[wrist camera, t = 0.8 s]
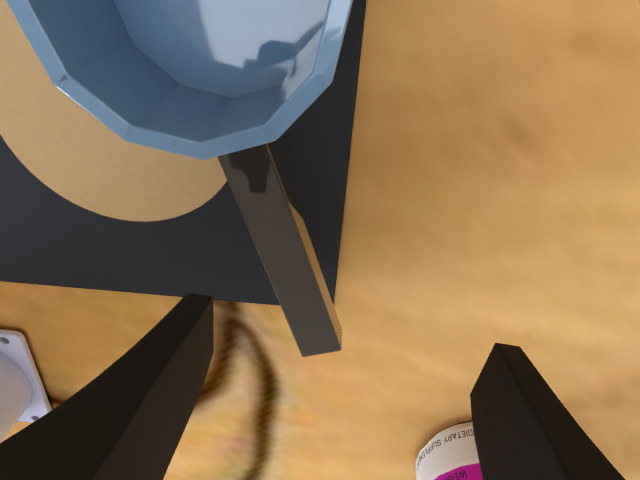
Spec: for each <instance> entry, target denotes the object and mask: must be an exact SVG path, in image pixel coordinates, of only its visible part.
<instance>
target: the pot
mask: <svg viewBox="0 0 640 480" xmlns="http://www.w3.org/2000/svg"><path fill="white" fill-rule="evenodd" d="M6 2H7V4H8V6H9V7H10V9H11V11H12V13H13V14H14V16H15V18H16V20H17V21H18V23H19V25H20V27H21V28H22V30H23V32H24V34H25V35H26V37H27V39H28V41H29V42H30V44H31V46H32V48H33V49H34V51H35V53H36V55H37V56H38V58H39V60H40V62H41V63H42V65H43V67H44V69H45V70H46V72H47V74H48V76H49V78H50V79H51V81H52V83H53V84H54V85H55V86H56V87H57V88H58V89H60V90H61V91H62V92H64V93H65V94H66V95H67V96H69V97H70V98H71V99H72V100H74V101H75V102H76V103H78V104H79V105H80V106H81V107H83V108H84V109H85V110H86V111H88V112H89V113H90V114H92V115H93V116H94V117H95V118H97V119H98V120H99V121H100V122H102V123H103V124H104V125H106V126H107V127H108V128H109V129H111V130H112V131H113V132H114V133H116V134H117V135H118V136H120V137H121V138H122V139H123V140H125V141H127V142H131V143H135V144H139V145H143V146H147V147H151V148H155V149H159V150H163V151H168V152H172V153H176V154H180V155H184V156H188V157H192V158H196V159H200V160H206V159H210V158H214V157H218V160H219V162H220V164H221V167H222V169H223V172H224V174H225V176H226V179H227V181H228V183H229V186H230V188H231V190H232V193H233V195H234V197H235V200H236V202H237V204H238V207H239V209H240V211H241V214H242V216H243V219H244V221H245V223H246V226H247V228H248V230H249V233H250V235H251V237H252V240H253V242H254V244H255V247H256V249H257V251H258V254H259V256H260V258H261V261H262V263H263V265H264V268H265V270H266V273H267V275H268V277H269V280H270V282H271V284H272V287H273V289H274V291H275V294H276V296H277V298H278V301H279V303H280V305H281V308H282V310H283V312H284V315H285V317H286V319H287V322H288V324H289V327H290V329H291V331H292V334H293V336H294V338H295V341H296V343H297V345H298V348H299V350H300V352H301V355H302V356H303V357H307V356H312V355H318V354H324V353H330V352H335V351H340V350H341V345H342V329H341V326H340V323H339V320H338V317H337V314H336V312H335V309H334V306H333V303H332V300H331V297H330V294H329V292H328V289H327V286H326V283H325V280H324V277H323V275H322V272H321V269H320V266H319V263H318V260H317V257H316V255H315V252H314V249H313V246H312V243H311V240H310V237H309V235H308V232H307V229H306V226H305V223H304V220H303V217H302V215H301V212H300V209H299V206H298V203H297V200H296V198H295V195H294V192H293V189H292V186H291V183H290V180H289V178H288V175H287V172H286V169H285V166H284V163H283V160H282V158H281V155H280V152H279V149H278V146H277V143H276V140H278V139H279V138H280V136H281V135H282V134H283V133H284V132H285V131H286V130H287V129H288V128H289V127H290V126H291V125H292V124H293V123H294V122H295V121H296V120H297V119H298V118H299V117H300V116H301V115H302V114H303V113H304V112H305V110H306V109H307V108H308V107H309V106H310V105H311V104H312V103H313V102H314V101H315V100H316V99H317V98H318V97H319V96H320V95H321V94H322V93H323V92H324V91H325V90H326V89H327V88H328V87H329V85H330V84H331V82H332V81H333V78H334V74H335V70H336V66H337V62H338V58H339V54H340V50H341V46H342V42H343V38H344V34H345V30H346V27H347V23H348V19H349V15H350V11H351V7H352V3H353V0H6Z"/></svg>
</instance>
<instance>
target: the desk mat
mask: <svg viewBox="0 0 640 480" xmlns="http://www.w3.org/2000/svg"><path fill="white" fill-rule="evenodd" d="M365 8H366V0H353V3H352V7H351V11H350V15H349V19H348V23H347V27H346V30H345V34H344V38H343V42H342V46H341V50H340V54H339V58H338V62H337V66H336V70H335V74H334V78H333V81H332V82H331V84H330V85H329V87H328V88H327V89H326V90H325V91H324V92H323V93H322V94H321V95H320V96H319V97H318V98H317V99H316V100H315V101H314V102H313V103H312V104H311V105H310V106H309V107H308V108H307V109H306V110H305V112H304V113H303V114H302V115H301V116H300V117H299V118H298V119H297V120H296V121H295V122H294V123H293V124H292V125H291V126H290V127H289V128H288V129H287V130H286V131H285V132H284V133H283V134H282V135H281V136H280V138H279V139H278V140H276V143H277V146H278V149H279V152H280V155H281V158H282V160H283V163H284V166H285V169H286V172H287V175H288V178H289V180H290V183H291V186H292V189H293V192H294V195H295V198H296V200H297V203H298V206H299V209H300V212H301V215H302V217H303V220H304V223H305V226H306V229H307V232H308V235H309V237H310V240H311V243H312V246H313V249H314V252H315V255H316V257H317V260H318V263H319V266H320V269H321V272H322V275H323V277H324V280H325V283H326V286H327V289H328V292H329V294H330V297H331V300H332V303H333V305H334V296H335V286H336V277H337V268H338V259H339V249H340V240H341V231H342V221H343V212H344V203H345V194H346V184H347V175H348V166H349V157H350V147H351V138H352V129H353V119H354V110H355V101H356V92H357V82H358V73H359V64H360V55H361V45H362V36H363V27H364V17H365ZM0 281H5V282H16V283H28V284H39V285H51V286H62V287H74V288H85V289H97V290H109V291H120V292H132V293H143V294H155V295H166V296H178V297H184V296H185V295H187V294H188V293H195V294H201V295H207V296H213V300H224V301H236V302H247V303H259V304H271V305H280V303H279V301H278V298H277V296H276V294H275V291H274V289H273V287H272V284H271V282H270V280H269V277H268V275H267V273H266V270H265V268H264V265H263V263H262V261H261V258H260V256H259V254H258V251H257V249H256V247H255V244H254V242H253V240H252V237H251V235H250V233H249V230H248V228H247V226H246V223H245V221H244V219H243V216H242V214H241V211H240V209H239V207H238V204H237V202H236V200H235V197H234V195H233V193H232V190H231V188H230V186H229V183H228V181H227V179H226V176H225V174H224V172H223V169H222V167H221V164H220V162H219V160H218V157H214V158H210V159H206V160H200V159H196V158H192V157H188V156H184V155H180V154H176V153H172V152H168V151H163V150H159V149H155V148H151V147H147V146H143V145H139V144H135V143H131V142H127V141H125V140H123V139H122V138H121V137H120V136H118V135H117V134H116V133H114V132H113V131H112V130H111V129H109V128H108V127H107V126H106V125H104V124H103V123H102V122H100V121H99V120H98V119H97V118H95V117H94V116H93V115H92V114H90V113H89V112H88V111H86V110H85V109H84V108H83V107H81V106H80V105H79V104H78V103H76V102H75V101H74V100H72V99H71V98H70V97H69V96H67V95H66V94H65V93H64V92H62V91H61V90H60V89H58V88H57V87H56V86H55V85H54V84H53V83H52V81H51V79H50V78H49V76H48V74H47V72H46V70H45V69H44V67H43V65H42V63H41V62H40V60H39V58H38V56H37V55H36V53H35V51H34V49H33V48H32V46H31V44H30V42H29V41H28V39H27V37H26V35H25V34H24V32H23V30H22V28H21V27H20V25H19V23H18V21H17V20H16V18H15V16H14V14H13V13H12V11H11V9H10V7H9V6H8V4H7V2H6V0H0Z"/></svg>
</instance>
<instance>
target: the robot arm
mask: <svg viewBox="0 0 640 480" xmlns="http://www.w3.org/2000/svg"><path fill="white" fill-rule="evenodd" d="M212 355H213V296H207V295H201V294H195V293H188V294H187V295H185V296H184V297H183V298H182V299H181V300H180V301H179V302H178V304H177V305H176V306H175V307H174V308H173V309H172V310H171V311H170V312H169V313H168V314H167V315H166V316H165V317H164V318H163V319H162V320H161V321H160V322H159V323H158V324H157V325H156V326H155V327H153V328H152V329H151V330H150V331H149V332H148V333H147V334H146V335H145V336H144V337H143V338H142V339H141V340H139V341H138V342H137V343H136V344H135V345H134V346H133V347H132V348H131V349H130V350H129V351H127V352H126V353H125V354H124V355H123V356H122V357H120V358H119V359H118V360H117V361H116V362H114V363H113V364H112V365H111V366H110V367H108V368H107V369H106V370H105V371H104V372H102V373H101V374H100V375H99V376H98V377H96V378H95V379H94V380H92V381H91V382H90V383H89V384H87V385H86V386H85V387H83V388H82V389H81V390H79V391H78V392H77V393H75V394H74V395H73V396H71V397H70V398H68V399H67V400H66V401H64V402H63V403H61V404H60V405H59V406H57V407H56V408H54V409H53V410H52V409H51V406H50V403H49V401H48V398H47V395H46V392H45V390H44V387H43V384H42V382H41V379H40V376H39V374H38V371H37V368H36V366H35V363H34V360H33V357H32V355H31V352H30V349H29V347H28V344H27V341H26V339H25V337H24V335H23V334H22V333H20V332H18V331H13V330H1V329H0V480H163V478H164V476H165V473H166V471H167V468H168V466H169V464H170V461H171V459H172V457H173V455H174V452H175V450H176V448H177V445H178V443H179V441H180V439H181V436H182V434H183V432H184V430H185V427H186V425H187V423H188V420H189V418H190V416H191V413H192V411H193V409H194V407H195V404H196V402H197V400H198V397H199V395H200V393H201V390H202V388H203V384H204V381H205V378H206V375H207V372H208V368H209V365H210V362H211V358H212ZM470 397H471V412H472V423H473V433H474V439H475V444H476V449H477V453H478V458H479V463H480V468H481V472H482V477H483V480H625V479H624V478H623V477H622V475H621V474H620V473H619V472H618V471H617V470H616V469H615V468H614V467H613V465H612V464H611V463H610V462H609V461H608V460H607V458H606V457H605V456H604V455H603V454H602V452H601V451H600V450H599V449H598V448H597V447H596V445H595V444H594V443H593V442H592V441H591V440H590V438H589V437H588V436H587V435H586V433H585V432H584V431H583V430H582V428H581V427H580V426H579V425H578V423H577V422H576V421H575V420H574V418H573V417H572V416H571V415H570V413H569V412H568V411H567V409H566V408H565V407H564V405H563V404H562V403H561V402H560V400H559V399H558V398H557V396H556V395H555V394H554V392H553V391H552V390H551V388H550V387H549V385H548V384H547V383H546V381H545V380H544V379H543V377H542V376H541V375H540V373H539V372H538V371H537V369H536V368H535V367H534V365H533V364H532V362H531V361H530V360H529V358H528V357H527V356H526V354H525V353H524V352H523V350H522V349H521V348H520V347H519V346H513V345H506V344H500V343H495V345H494V347H493V349H492V351H491V353H490V355H489V357H488V359H487V361H486V363H485V365H484V367H483V369H482V371H481V373H480V375H479V377H478V379H477V381H476V384H475V386H474V388H473V390H472V392H471V394H470ZM17 421H21V422H33V423H32V424H30V425H29V426H27V427H26V428H24V429H22V430H21V431H19V432H18V433H16V434H14V435H13V436H11V437H10V438H8V439H6V440H5V438H6V437H7V435H8V434H9V433H10V431H11V430H12V428H13V427H14V425H15V424H16V423H17ZM4 440H5V441H4Z"/></svg>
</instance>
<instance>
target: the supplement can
mask: <svg viewBox="0 0 640 480" xmlns="http://www.w3.org/2000/svg"><path fill="white" fill-rule="evenodd" d="M415 468H416V476H417V480H483V477H482V472H481V468H480V463H479V458H478V453H477V449H476V444H475V439H474V433H473V423H472V422H468V423H463V424H458V425H454V426H452V427H450V428H448V429H445V430H443V431H441V432H439V433H437V434H436V435H435V436H434V437H433V438H432V439H431V440H430V441H429V442H428V443H427V445H426V446H425V447H424V448H423V449H422V450H421V451H420V452H419V455H418V458H417V460H416V463H415Z"/></svg>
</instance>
